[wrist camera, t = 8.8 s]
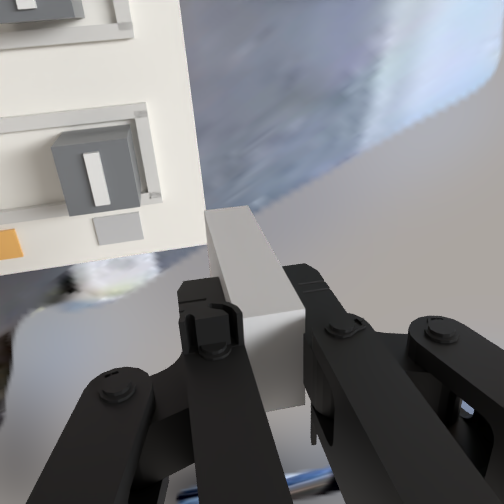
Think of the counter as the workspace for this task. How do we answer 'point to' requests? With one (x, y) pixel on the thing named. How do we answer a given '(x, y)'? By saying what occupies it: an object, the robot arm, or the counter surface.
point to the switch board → (94, 116)
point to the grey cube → (97, 169)
